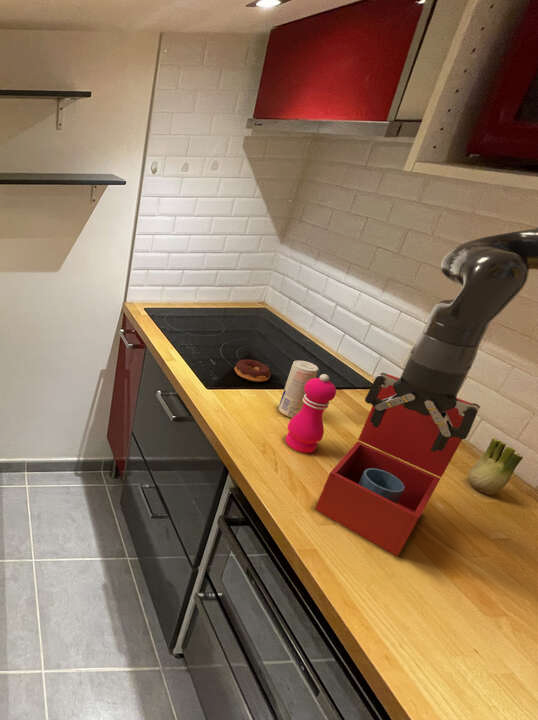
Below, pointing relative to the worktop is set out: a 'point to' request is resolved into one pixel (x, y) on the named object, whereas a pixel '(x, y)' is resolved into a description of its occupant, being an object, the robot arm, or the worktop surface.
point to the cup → (382, 484)
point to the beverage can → (296, 387)
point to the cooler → (376, 498)
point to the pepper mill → (310, 415)
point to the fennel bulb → (494, 468)
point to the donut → (252, 370)
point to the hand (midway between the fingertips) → (403, 437)
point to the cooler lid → (411, 435)
